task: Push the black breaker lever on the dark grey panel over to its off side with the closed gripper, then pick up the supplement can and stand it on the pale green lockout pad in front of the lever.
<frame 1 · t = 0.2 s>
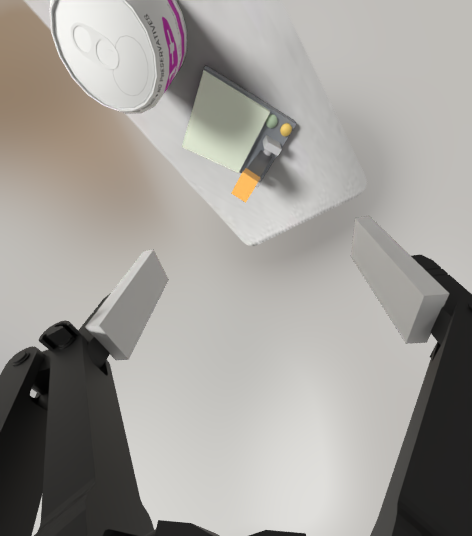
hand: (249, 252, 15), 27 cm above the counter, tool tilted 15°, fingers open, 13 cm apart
supplement can: (152, 31, 25), on the counter
breaker lever: (254, 172, 31), point 7 cm above the counter, hinge at -20.0°
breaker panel: (237, 131, 34), on the counter
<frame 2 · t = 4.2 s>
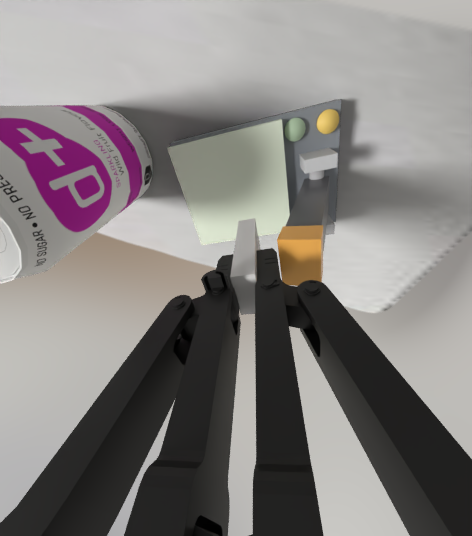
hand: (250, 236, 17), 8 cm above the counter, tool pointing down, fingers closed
supplement can: (114, 156, 22), on the counter
breaker lever: (310, 219, 16), point 7 cm above the counter, hinge at -16.6°, touching gripper
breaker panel: (258, 181, 22), on the counter
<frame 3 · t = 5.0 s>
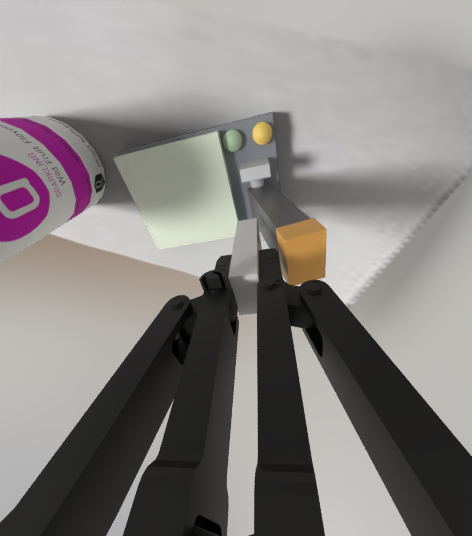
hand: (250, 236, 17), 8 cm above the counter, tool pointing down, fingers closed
supplement can: (69, 164, 22), on the counter
breaker lever: (276, 221, 17), point 7 cm above the counter, hinge at 12.6°, touching gripper
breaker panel: (209, 187, 23), on the counter
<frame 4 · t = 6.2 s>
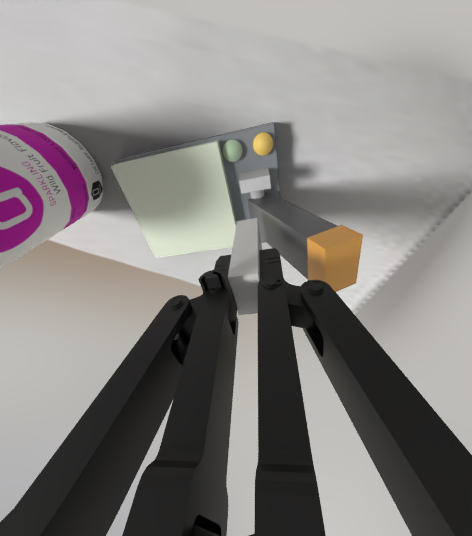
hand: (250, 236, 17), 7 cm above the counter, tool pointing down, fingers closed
supplement can: (66, 170, 22), on the counter
breaker lever: (288, 231, 16), point 7 cm above the counter, hinge at 24.1°
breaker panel: (208, 196, 22), on the counter
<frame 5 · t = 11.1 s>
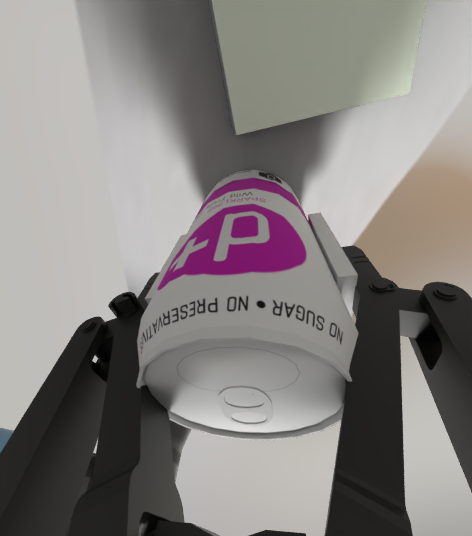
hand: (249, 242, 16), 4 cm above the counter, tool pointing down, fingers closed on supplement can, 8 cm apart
supplement can: (251, 216, 19), on the counter, touching gripper
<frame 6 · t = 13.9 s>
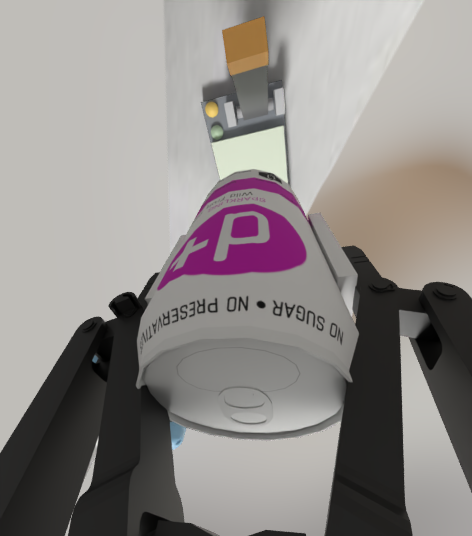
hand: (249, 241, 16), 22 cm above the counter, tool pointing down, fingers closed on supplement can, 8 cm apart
supplement can: (251, 216, 19), point 17 cm above the counter, touching gripper
breaker lever: (251, 84, 22), point 7 cm above the counter, hinge at 24.2°
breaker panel: (250, 152, 32), on the counter
when the fingers open (8 cm above the counter, at t = 16.7 s): supplement can drops 1 cm, resting on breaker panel.
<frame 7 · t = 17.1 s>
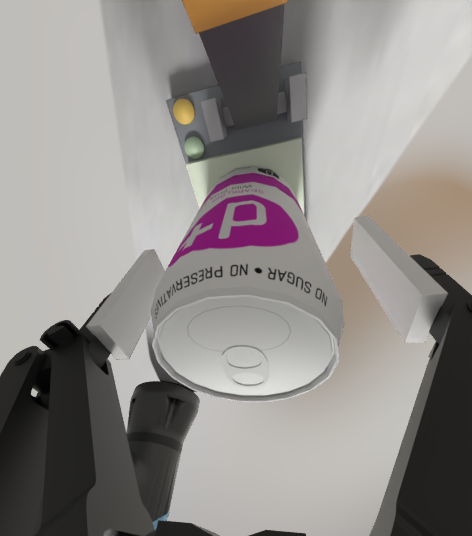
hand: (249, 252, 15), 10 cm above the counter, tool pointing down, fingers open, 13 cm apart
supplement can: (250, 210, 21), point 2 cm above the counter, touching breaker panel
breaker lever: (247, 63, 11), point 7 cm above the counter, hinge at 24.2°
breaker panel: (247, 176, 21), on the counter
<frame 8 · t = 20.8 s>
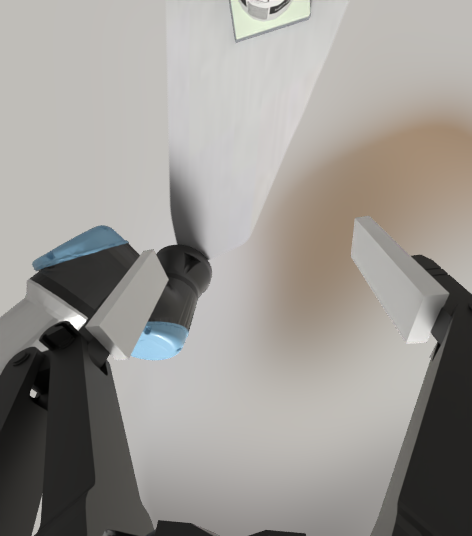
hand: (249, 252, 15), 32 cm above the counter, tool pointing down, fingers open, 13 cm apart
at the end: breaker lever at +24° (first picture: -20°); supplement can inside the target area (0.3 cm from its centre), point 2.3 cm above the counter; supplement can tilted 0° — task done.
